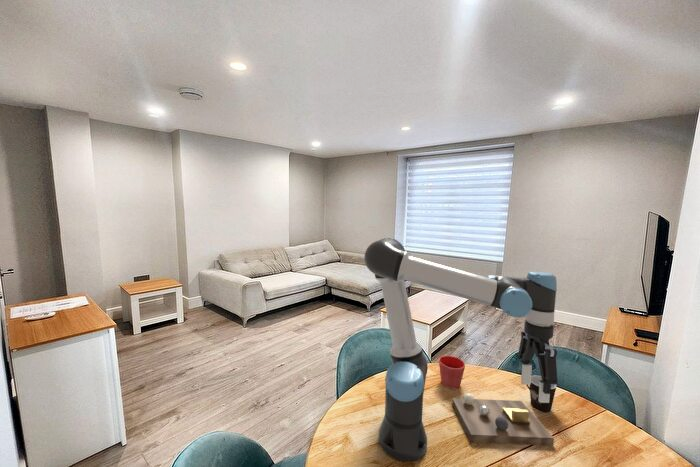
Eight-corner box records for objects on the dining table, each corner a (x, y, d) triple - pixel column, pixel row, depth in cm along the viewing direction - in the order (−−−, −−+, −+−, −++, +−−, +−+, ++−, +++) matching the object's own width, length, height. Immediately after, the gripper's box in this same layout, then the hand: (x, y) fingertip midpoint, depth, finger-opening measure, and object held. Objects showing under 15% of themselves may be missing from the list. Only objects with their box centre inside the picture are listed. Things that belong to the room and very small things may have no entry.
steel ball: (481, 418, 97) (481, 409, 97) (477, 412, 101) (477, 403, 101) (491, 419, 97) (491, 409, 97) (486, 412, 101) (487, 403, 101)
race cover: (511, 422, 96) (512, 411, 96) (502, 409, 102) (503, 399, 102) (529, 422, 96) (530, 412, 95) (519, 410, 102) (520, 400, 101)
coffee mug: (559, 416, 103) (561, 390, 102) (533, 412, 105) (534, 387, 104) (544, 396, 114) (545, 372, 114) (520, 393, 116) (522, 370, 115)
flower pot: (466, 381, 124) (467, 359, 124) (461, 394, 115) (462, 371, 114) (441, 373, 130) (442, 353, 129) (435, 385, 121) (435, 363, 120)
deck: (470, 441, 91) (471, 434, 90) (452, 404, 109) (452, 398, 108) (553, 445, 90) (553, 438, 90) (520, 407, 108) (521, 400, 108)
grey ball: (498, 433, 91) (498, 421, 91) (492, 424, 95) (493, 413, 95) (510, 433, 91) (510, 422, 91) (504, 424, 95) (504, 414, 95)
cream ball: (465, 407, 103) (465, 397, 103) (461, 400, 107) (462, 390, 107) (475, 407, 103) (476, 397, 103) (471, 400, 107) (472, 391, 107)
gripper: (577, 337, 77) (571, 416, 78) (530, 310, 98) (526, 374, 99) (549, 336, 77) (544, 415, 78) (508, 310, 98) (504, 373, 100)
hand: (534, 392), depth 89 cm, fingers open, 8 cm apart
